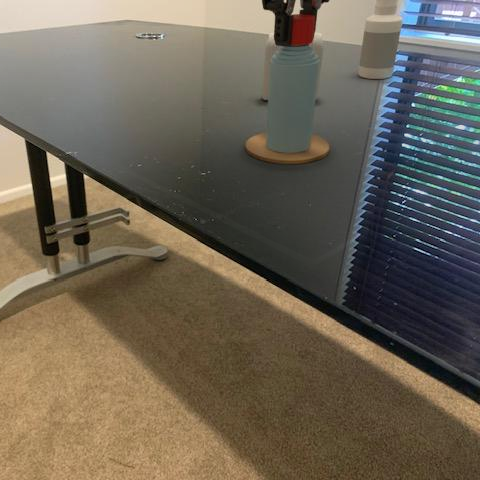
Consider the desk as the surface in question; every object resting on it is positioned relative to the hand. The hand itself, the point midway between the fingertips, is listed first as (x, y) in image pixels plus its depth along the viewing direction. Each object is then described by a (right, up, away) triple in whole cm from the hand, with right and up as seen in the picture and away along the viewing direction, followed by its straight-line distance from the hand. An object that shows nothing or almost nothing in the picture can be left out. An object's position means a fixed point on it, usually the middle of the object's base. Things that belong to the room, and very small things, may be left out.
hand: (294, 42), depth 67 cm
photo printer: (+7, 0, +29) cm, 30 cm away
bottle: (+1, -12, +7) cm, 14 cm away
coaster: (+1, -13, +8) cm, 15 cm away
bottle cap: (0, 0, 0) cm, 0 cm away
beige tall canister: (+28, +8, +40) cm, 50 cm away
